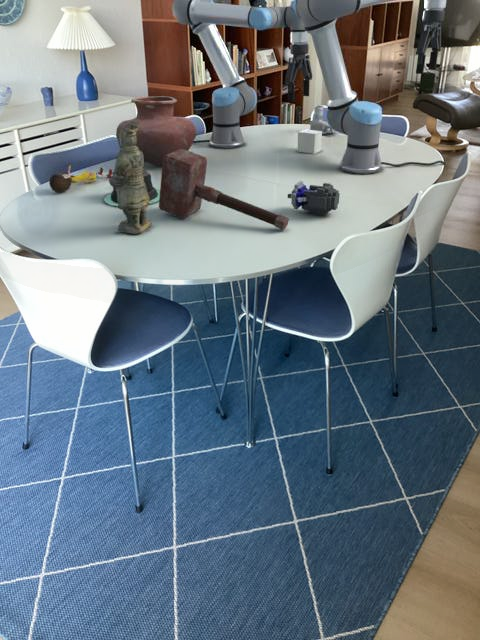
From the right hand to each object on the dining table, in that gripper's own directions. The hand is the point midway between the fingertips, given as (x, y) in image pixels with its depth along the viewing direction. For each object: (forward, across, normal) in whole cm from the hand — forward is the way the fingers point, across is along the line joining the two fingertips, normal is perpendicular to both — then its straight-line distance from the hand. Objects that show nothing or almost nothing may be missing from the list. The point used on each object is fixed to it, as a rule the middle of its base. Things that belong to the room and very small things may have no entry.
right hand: (425, 71), depth 216 cm
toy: (+31, +88, +1) cm, 93 cm away
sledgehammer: (+31, +108, -18) cm, 114 cm away
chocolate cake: (+31, +107, -57) cm, 125 cm away
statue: (+31, +128, -36) cm, 136 cm away
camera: (+31, -13, -50) cm, 60 cm away
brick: (+31, +21, -39) cm, 54 cm away
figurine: (+31, +107, -83) cm, 139 cm away
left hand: (+12, +13, -50) cm, 52 cm away
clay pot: (+31, +70, -79) cm, 111 cm away
